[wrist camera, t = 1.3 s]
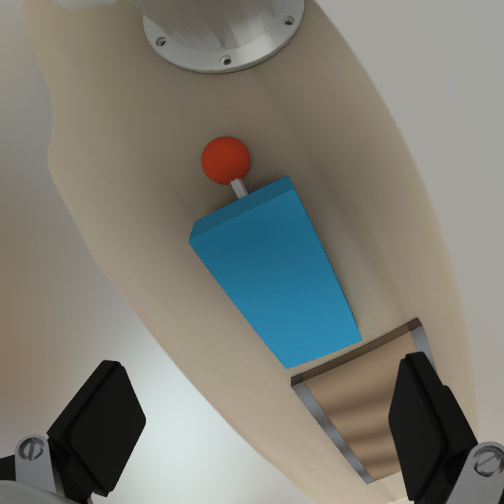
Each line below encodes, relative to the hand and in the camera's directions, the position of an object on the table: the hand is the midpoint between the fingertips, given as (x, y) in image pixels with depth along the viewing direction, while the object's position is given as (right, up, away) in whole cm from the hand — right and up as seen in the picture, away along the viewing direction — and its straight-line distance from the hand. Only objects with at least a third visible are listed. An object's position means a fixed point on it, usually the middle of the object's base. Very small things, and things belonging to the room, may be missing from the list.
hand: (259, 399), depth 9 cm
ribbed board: (+15, -14, +19) cm, 28 cm away
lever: (+2, +5, +15) cm, 16 cm away
